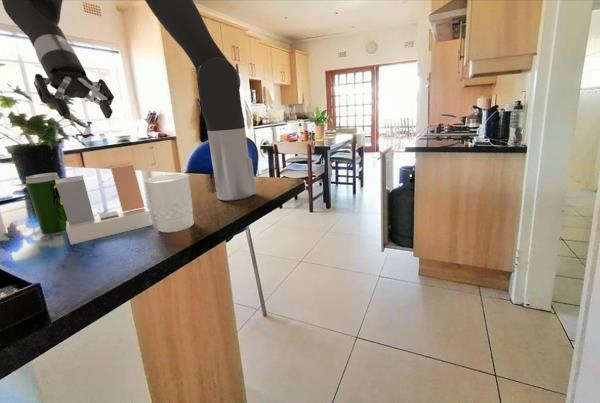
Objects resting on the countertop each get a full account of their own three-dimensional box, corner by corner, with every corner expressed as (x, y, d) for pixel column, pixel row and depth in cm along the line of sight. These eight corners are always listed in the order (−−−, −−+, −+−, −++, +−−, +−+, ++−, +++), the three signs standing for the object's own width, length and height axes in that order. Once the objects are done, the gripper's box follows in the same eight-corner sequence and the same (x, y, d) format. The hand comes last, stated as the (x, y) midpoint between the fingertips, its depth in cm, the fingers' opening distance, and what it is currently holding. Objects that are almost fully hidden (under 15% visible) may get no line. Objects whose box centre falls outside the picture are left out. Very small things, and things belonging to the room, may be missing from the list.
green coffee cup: (41, 239, 61) (21, 179, 58) (44, 232, 66) (26, 175, 62) (74, 232, 64) (57, 174, 61) (75, 225, 68) (59, 171, 65)
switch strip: (147, 218, 69) (144, 203, 68) (152, 224, 65) (149, 209, 64) (70, 236, 62) (66, 220, 61) (70, 244, 57) (65, 227, 56)
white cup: (145, 232, 60) (134, 182, 58) (174, 219, 68) (165, 173, 65) (178, 235, 58) (168, 182, 55) (205, 220, 65) (197, 173, 62)
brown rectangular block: (143, 207, 66) (132, 167, 67) (144, 206, 65) (133, 164, 66) (122, 212, 64) (111, 170, 65) (122, 210, 63) (111, 168, 63)
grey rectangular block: (93, 215, 61) (82, 175, 56) (94, 219, 60) (83, 179, 55) (68, 220, 59) (55, 179, 54) (69, 225, 58) (55, 183, 53)
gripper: (23, 42, 66) (54, 104, 63) (96, 53, 77) (126, 105, 75) (19, 69, 70) (48, 127, 68) (89, 76, 82) (117, 126, 79)
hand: (89, 116), depth 71 cm, fingers open, 8 cm apart
